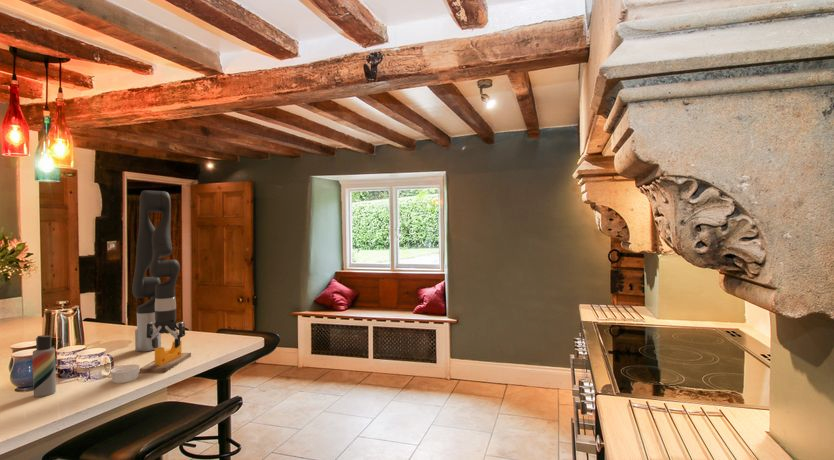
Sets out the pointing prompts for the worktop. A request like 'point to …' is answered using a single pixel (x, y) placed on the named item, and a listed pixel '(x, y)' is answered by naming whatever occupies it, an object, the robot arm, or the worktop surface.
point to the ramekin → (125, 373)
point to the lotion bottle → (44, 367)
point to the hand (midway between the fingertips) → (166, 347)
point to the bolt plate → (164, 367)
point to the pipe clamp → (167, 354)
